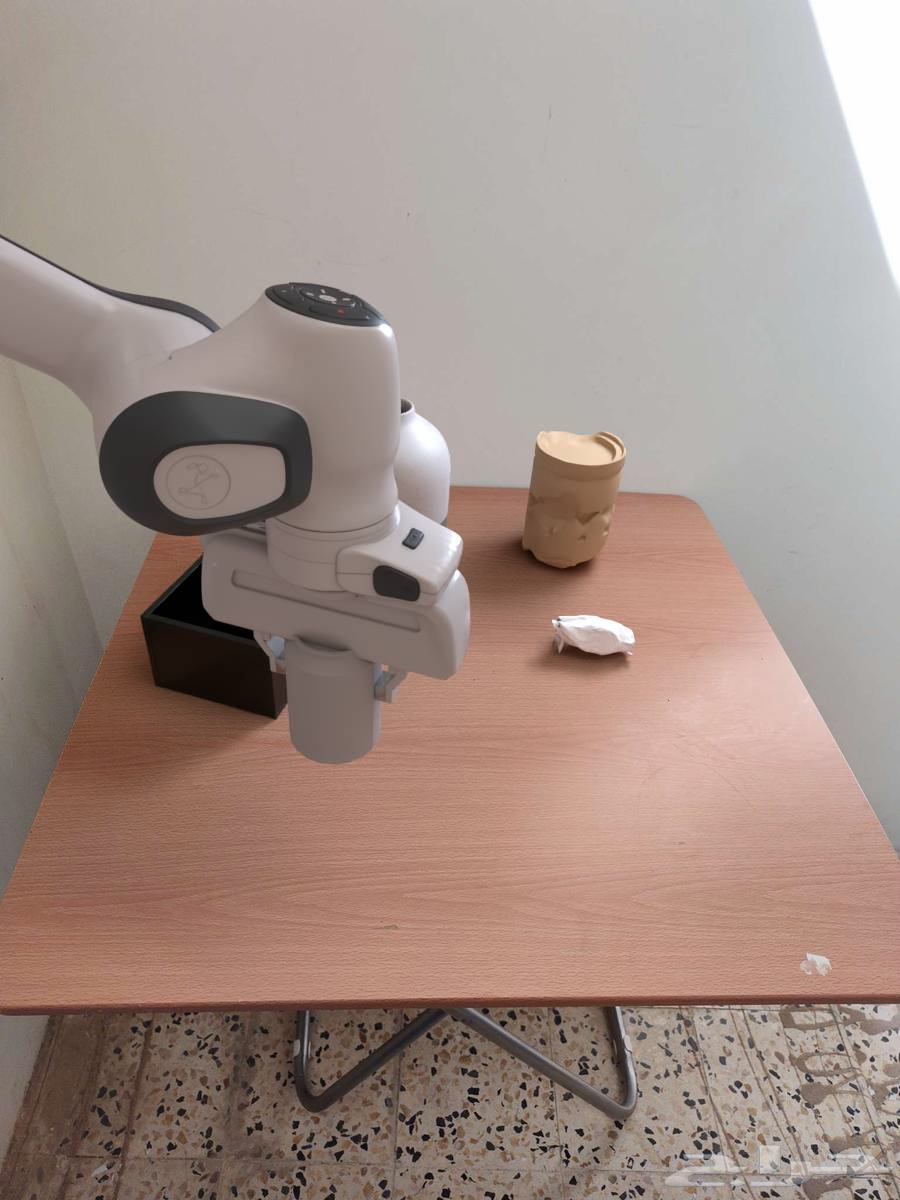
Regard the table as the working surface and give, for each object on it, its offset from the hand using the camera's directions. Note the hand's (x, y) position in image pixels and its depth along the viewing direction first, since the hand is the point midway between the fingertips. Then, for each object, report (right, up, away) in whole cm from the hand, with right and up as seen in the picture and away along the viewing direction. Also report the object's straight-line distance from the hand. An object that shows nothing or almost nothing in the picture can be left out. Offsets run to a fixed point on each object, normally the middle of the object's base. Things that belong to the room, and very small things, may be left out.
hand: (335, 682), depth 63 cm
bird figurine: (+28, 0, +41) cm, 50 cm away
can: (-1, -5, +4) cm, 6 cm away
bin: (-16, -1, +35) cm, 39 cm away
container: (+26, +14, +59) cm, 66 cm away
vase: (0, +12, +55) cm, 56 cm away
